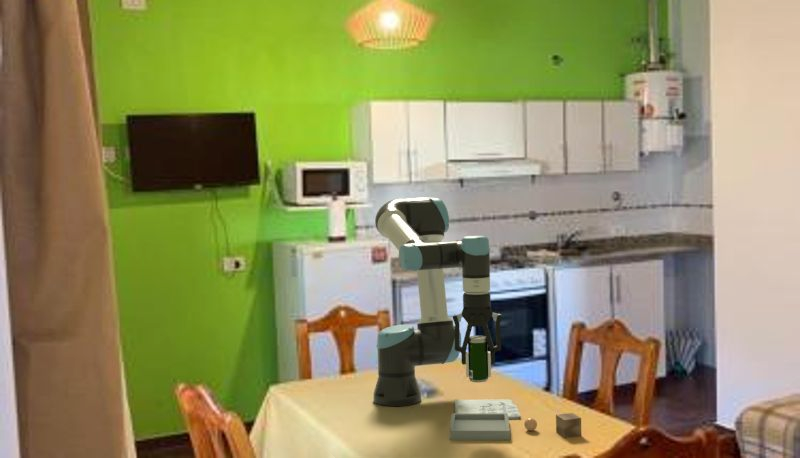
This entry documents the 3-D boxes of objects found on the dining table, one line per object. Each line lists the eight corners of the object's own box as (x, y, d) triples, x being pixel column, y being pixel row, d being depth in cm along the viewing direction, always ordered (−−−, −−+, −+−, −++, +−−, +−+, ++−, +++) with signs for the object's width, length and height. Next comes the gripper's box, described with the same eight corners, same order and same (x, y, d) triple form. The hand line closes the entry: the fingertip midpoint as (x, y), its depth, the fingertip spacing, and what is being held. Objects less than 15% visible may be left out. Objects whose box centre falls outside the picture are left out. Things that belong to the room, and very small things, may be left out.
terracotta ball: (524, 432, 226) (524, 420, 226) (524, 428, 229) (523, 416, 229) (537, 432, 225) (537, 420, 225) (536, 428, 229) (536, 416, 229)
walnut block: (564, 438, 220) (564, 419, 220) (556, 432, 225) (555, 414, 225) (581, 436, 222) (581, 418, 221) (573, 430, 226) (572, 412, 226)
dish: (450, 439, 221) (449, 430, 221) (451, 421, 237) (451, 413, 237) (510, 439, 220) (509, 430, 220) (507, 421, 236) (507, 413, 236)
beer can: (477, 383, 224) (476, 340, 223) (465, 380, 228) (463, 337, 228) (492, 380, 227) (491, 337, 226) (480, 376, 231) (479, 334, 230)
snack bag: (455, 422, 239) (455, 415, 239) (454, 403, 259) (453, 396, 259) (521, 421, 238) (521, 414, 238) (514, 402, 258) (514, 395, 258)
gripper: (442, 294, 223) (444, 379, 225) (510, 293, 221) (512, 378, 223) (443, 290, 231) (445, 372, 232) (509, 289, 229) (511, 372, 230)
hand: (478, 375), depth 228 cm, fingers closed on beer can, 5 cm apart
